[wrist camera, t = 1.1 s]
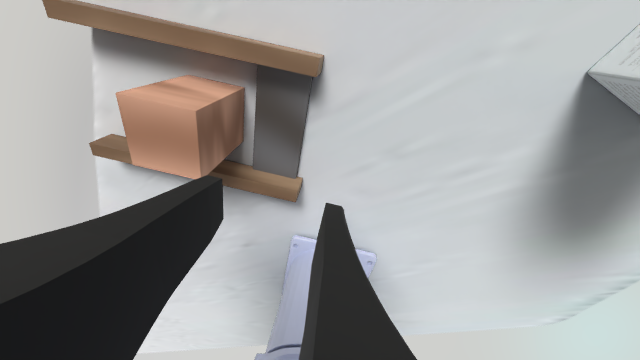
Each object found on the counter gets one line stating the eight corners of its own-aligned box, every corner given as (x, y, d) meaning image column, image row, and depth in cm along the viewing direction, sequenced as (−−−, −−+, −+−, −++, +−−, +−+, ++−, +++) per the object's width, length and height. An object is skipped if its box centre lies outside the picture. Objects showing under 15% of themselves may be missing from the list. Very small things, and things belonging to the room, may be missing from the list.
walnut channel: (300, 188, 21) (295, 202, 19) (114, 145, 21) (93, 154, 19) (324, 55, 15) (319, 57, 14) (75, 0, 16) (41, -4, 14)
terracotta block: (243, 141, 19) (201, 180, 14) (193, 129, 19) (132, 164, 14) (244, 87, 17) (195, 110, 12) (188, 74, 17) (115, 92, 12)
